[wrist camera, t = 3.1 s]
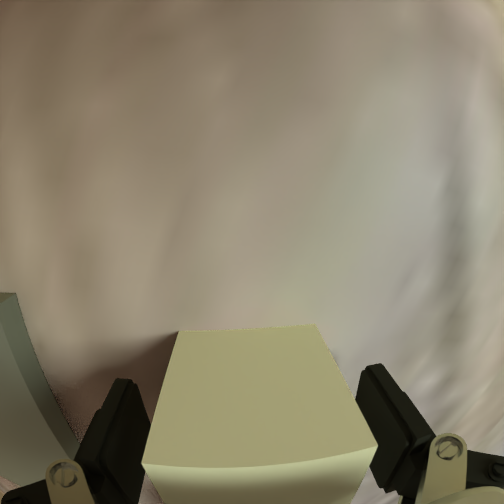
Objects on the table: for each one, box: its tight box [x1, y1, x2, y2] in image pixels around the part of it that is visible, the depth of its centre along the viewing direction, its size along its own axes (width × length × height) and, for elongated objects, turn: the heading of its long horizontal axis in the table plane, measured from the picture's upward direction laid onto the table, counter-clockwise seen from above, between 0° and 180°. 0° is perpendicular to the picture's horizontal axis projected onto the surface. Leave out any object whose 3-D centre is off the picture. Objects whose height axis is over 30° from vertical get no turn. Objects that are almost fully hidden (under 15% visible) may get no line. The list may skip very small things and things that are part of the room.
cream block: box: [141, 324, 378, 504], centre depth 8 cm, size 5×5×6 cm
